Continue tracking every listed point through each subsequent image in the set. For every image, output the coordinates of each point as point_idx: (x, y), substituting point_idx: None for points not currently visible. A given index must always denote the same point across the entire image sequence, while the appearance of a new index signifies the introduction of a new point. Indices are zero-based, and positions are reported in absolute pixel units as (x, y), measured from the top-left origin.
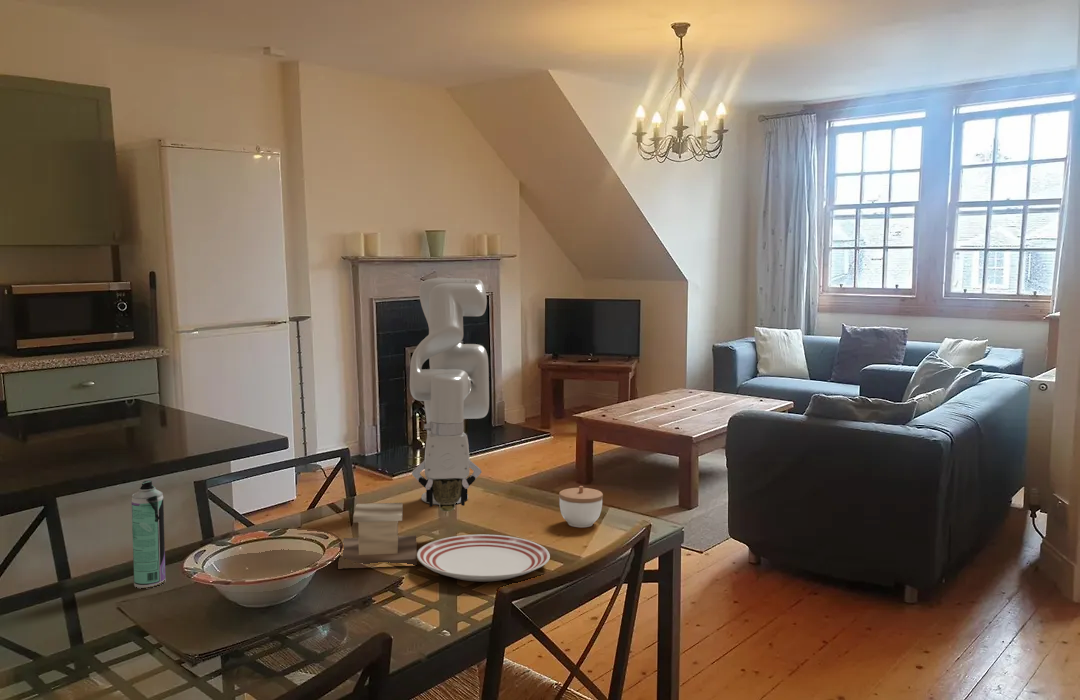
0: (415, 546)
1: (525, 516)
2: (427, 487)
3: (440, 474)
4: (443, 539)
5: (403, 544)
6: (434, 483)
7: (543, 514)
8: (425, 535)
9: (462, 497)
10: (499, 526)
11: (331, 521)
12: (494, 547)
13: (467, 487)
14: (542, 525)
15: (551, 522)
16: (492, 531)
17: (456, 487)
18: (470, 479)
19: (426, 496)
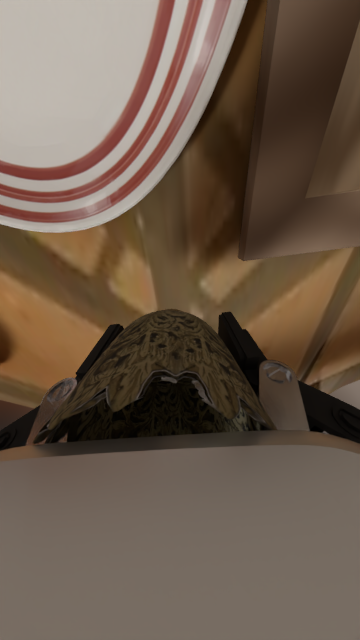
0: (266, 124)
1: (76, 375)
2: (277, 372)
3: (241, 541)
4: (169, 152)
5: (299, 159)
6: (252, 394)
7: (56, 381)
8: (215, 299)
9: (105, 342)
10: (95, 341)
11: (344, 357)
12: (9, 159)
13: (63, 385)
14: (28, 346)
15: (23, 357)
16: (96, 320)
17: (93, 365)
18: (14, 439)
19: (254, 341)
